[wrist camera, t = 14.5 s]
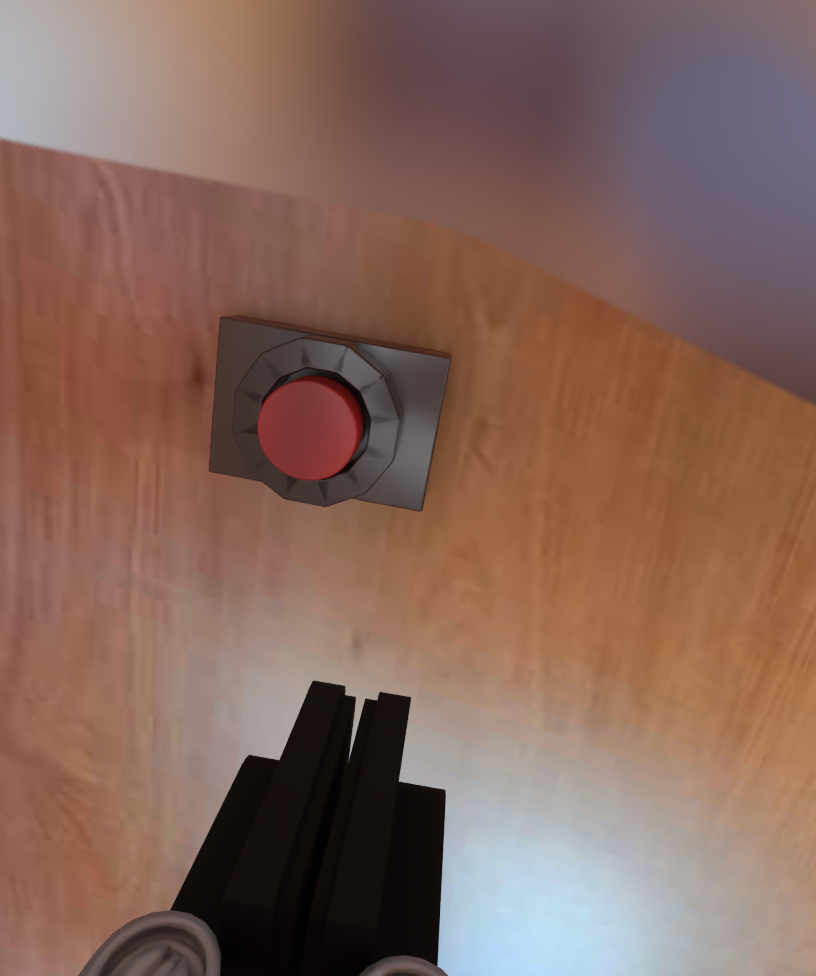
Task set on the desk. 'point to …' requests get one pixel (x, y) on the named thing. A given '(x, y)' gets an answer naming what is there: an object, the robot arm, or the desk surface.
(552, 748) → the desk surface
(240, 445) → the button housing
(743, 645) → the desk surface
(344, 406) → the button
